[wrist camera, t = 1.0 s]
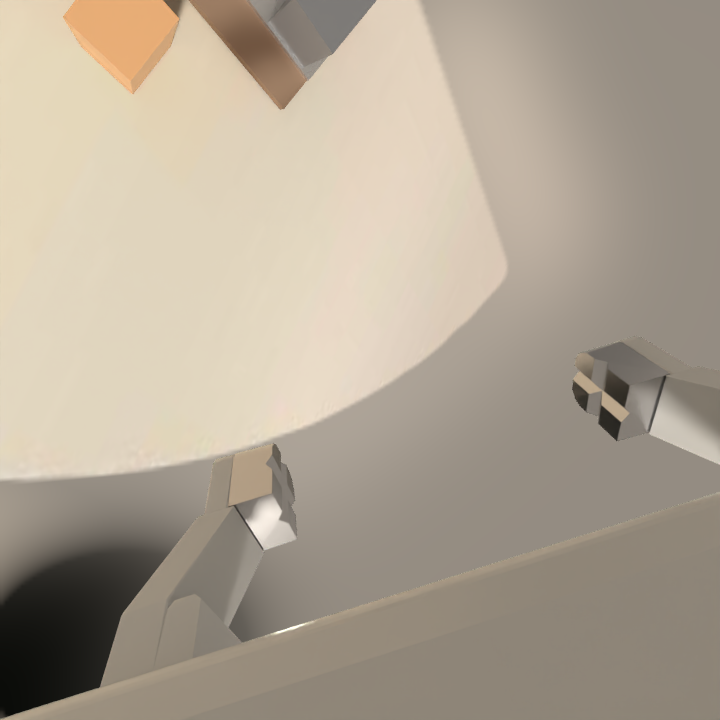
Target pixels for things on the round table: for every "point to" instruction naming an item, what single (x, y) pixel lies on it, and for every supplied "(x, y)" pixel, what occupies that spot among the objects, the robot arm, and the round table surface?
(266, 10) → the light grey flat plate
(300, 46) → the mounted modules
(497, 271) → the round table surface
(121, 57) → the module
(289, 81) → the board
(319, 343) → the round table surface
